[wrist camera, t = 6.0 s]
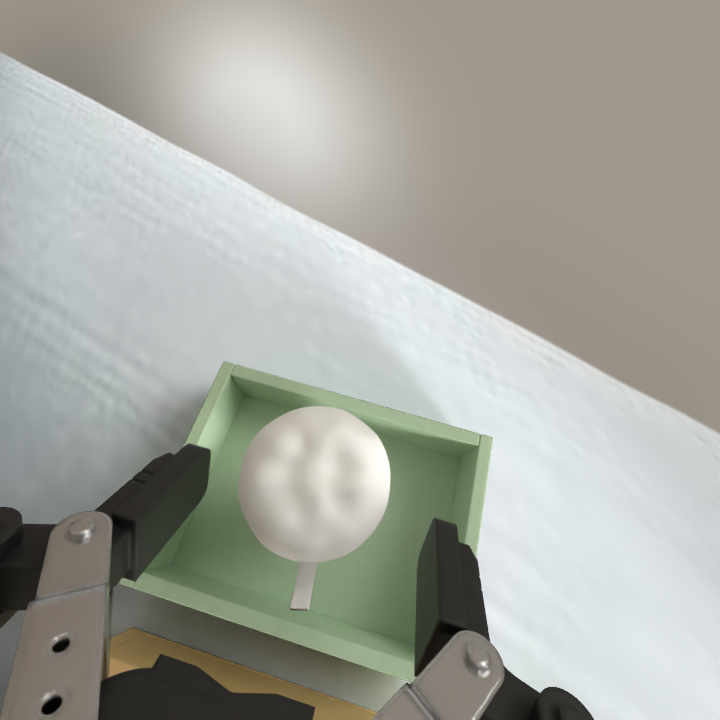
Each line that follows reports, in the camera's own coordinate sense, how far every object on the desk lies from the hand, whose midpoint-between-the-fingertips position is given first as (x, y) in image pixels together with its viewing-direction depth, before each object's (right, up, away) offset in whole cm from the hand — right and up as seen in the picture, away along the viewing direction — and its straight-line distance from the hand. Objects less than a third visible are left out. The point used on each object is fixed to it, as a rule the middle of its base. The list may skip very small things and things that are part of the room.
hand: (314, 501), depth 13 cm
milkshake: (0, -2, +6) cm, 6 cm away
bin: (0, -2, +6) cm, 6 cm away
